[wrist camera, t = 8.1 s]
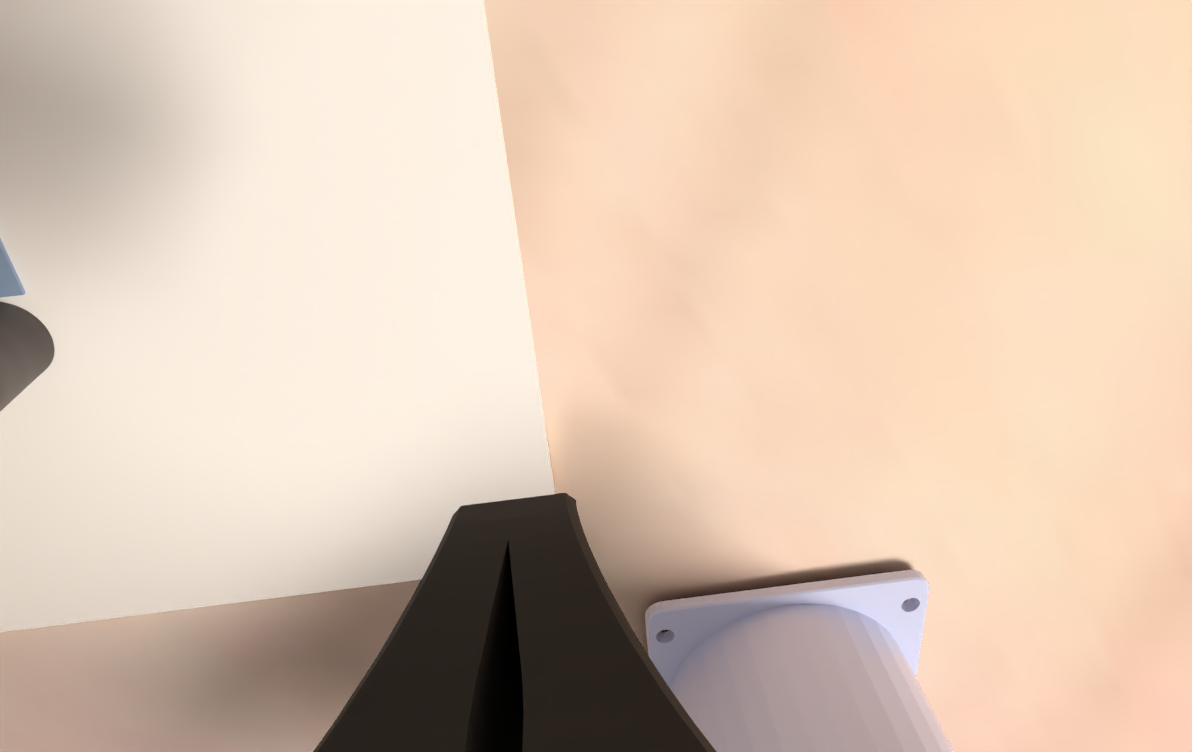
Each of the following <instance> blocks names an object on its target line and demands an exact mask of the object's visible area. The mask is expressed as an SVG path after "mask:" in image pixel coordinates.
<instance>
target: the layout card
mask: <svg viewBox="0 0 1192 752" xmlns="http://www.w3.org/2000/svg"><path fill="white" fill-rule="evenodd" d="M0 302H4V303H9V304H13V305H16V306H18V307H21V308H23V309H25V310H27V311H28V312H30V313H31V314H33V315H34V316H35V317H37V318H38V319H39V320H40V321H41V322H42V323H43V324H44V325H45V327H46V328H47V329H48V331H49V333H50V335H51V337H52V339H53V343H54V349H55V351H54V357H53V360H52V362H51V364H50V366H49V367H48V368H47V369H46V370H45V371H44V372H43V373H42V374H40V375H39V376H38V377H37V378H36V379H35V380H34V381H33V382H32V383H31V384H30V385H29V386H27V387H26V388H25V389H24V390H23V391H22V392H21V393H20V394H19V395H18V396H17V397H16V398H15V399H13V400H12V401H11V402H10V403H9V404H8V405H7V406H6V407H5V408H4V409H3V410H2V411H0V633H1V632H9V631H17V630H25V629H33V628H41V627H49V626H56V625H64V624H72V623H80V622H88V621H96V620H104V619H112V618H120V617H128V616H136V615H144V614H152V613H160V612H168V611H176V610H184V609H192V608H200V607H208V606H215V605H223V604H231V603H239V602H247V601H255V600H263V599H271V598H279V597H287V596H295V595H303V594H311V593H319V592H327V591H335V590H343V589H351V588H359V587H367V586H374V585H382V584H390V583H398V582H406V581H414V580H422V578H423V576H424V574H425V572H426V570H427V568H428V566H429V564H430V562H431V560H432V559H433V557H434V555H435V553H436V551H437V548H438V546H439V544H440V542H441V540H442V538H443V536H444V534H445V532H446V530H447V527H448V525H449V523H450V521H451V518H452V516H453V514H454V513H455V512H456V511H457V510H458V509H459V508H460V506H463V505H471V504H479V503H488V502H496V501H504V500H512V499H520V498H528V497H536V496H544V495H552V494H555V488H554V481H553V474H552V467H551V460H550V453H549V447H548V440H547V433H546V426H545V419H544V412H543V405H542V398H541V391H540V385H539V378H538V371H537V364H536V357H535V350H534V343H533V336H532V329H531V322H530V316H529V309H528V302H527V295H526V288H525V281H524V274H523V267H522V260H521V254H520V247H519V240H518V233H517V226H516V219H515V212H514V205H513V198H512V192H511V185H510V178H509V171H508V164H507V157H506V150H505V143H504V136H503V130H502V123H501V116H500V109H499V102H498V95H497V88H496V81H495V74H494V68H493V61H492V54H491V47H490V40H489V33H488V26H487V19H486V12H485V6H484V0H0Z"/></svg>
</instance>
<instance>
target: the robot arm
mask: <svg viewBox="0 0 1192 752" xmlns="http://www.w3.org/2000/svg"><path fill="white" fill-rule="evenodd" d="M928 593H929V583H928V582H927V580H926V579H925V577H924V575H923V574H922V573H921V572H919V571H917V570H903V571H895V572H887V573H879V574H871V575H864V576H856V577H848V578H840V579H832V580H824V581H817V582H809V583H801V584H793V585H785V586H777V587H769V588H762V589H754V590H746V591H738V592H730V593H722V594H715V595H707V596H699V597H691V598H683V599H675V600H667V601H661V602H657V603H654V604H653V605H651V606H650V607H649V608H648V609H647V610H646V612H645V625H646V637H647V648H648V654H647V653H646V651H645V650H644V648H643V647H642V645H641V643H640V642H639V640H638V638H637V637H636V635H635V633H634V632H633V630H632V628H631V627H630V625H629V623H628V621H627V620H626V618H625V616H624V614H623V612H622V611H621V609H620V607H619V605H618V603H617V602H616V600H615V598H614V596H613V595H612V593H611V591H610V589H609V587H608V585H607V583H606V581H605V579H604V577H603V575H602V573H601V571H600V569H599V567H598V565H597V563H596V561H595V558H594V556H593V554H592V552H591V549H590V547H589V545H588V542H587V540H586V537H585V534H584V532H583V529H582V526H581V523H580V519H579V516H578V512H577V507H576V500H575V499H573V498H572V497H570V496H569V495H568V494H566V493H560V494H552V495H544V496H536V497H528V498H520V499H512V500H504V501H496V502H488V503H479V504H471V505H463V506H460V508H459V509H458V510H457V511H456V512H455V513H454V514H453V516H452V518H451V521H450V523H449V525H448V527H447V530H446V532H445V534H444V536H443V538H442V540H441V542H440V544H439V546H438V548H437V551H436V553H435V555H434V557H433V559H432V560H431V562H430V564H429V566H428V568H427V570H426V572H425V574H424V576H423V578H422V580H421V581H420V583H419V585H418V587H417V589H416V591H415V593H414V595H413V596H412V598H411V600H410V602H409V603H408V605H407V607H406V608H405V610H404V612H403V614H402V615H401V617H400V619H399V621H398V622H397V624H396V626H395V628H394V629H393V631H392V633H391V634H390V636H389V638H388V640H387V641H386V643H385V645H384V646H383V648H382V650H381V651H380V653H379V655H378V656H377V658H376V659H375V661H374V662H373V664H372V666H371V667H370V669H369V670H368V672H367V673H366V675H365V676H364V678H363V679H362V681H361V682H360V684H359V685H358V687H357V688H356V690H355V692H354V693H353V695H352V696H351V698H350V699H349V701H348V702H347V704H346V705H345V707H344V708H343V710H342V711H341V713H340V714H339V716H338V718H337V719H336V720H335V722H334V723H333V725H332V726H331V728H330V729H329V731H328V732H327V733H326V735H325V736H324V738H323V739H322V740H321V742H320V743H319V745H318V746H317V747H316V749H315V750H314V752H955V751H954V749H953V747H952V745H951V743H950V741H949V739H948V737H947V735H946V734H945V732H944V730H943V728H942V726H941V724H940V722H939V720H938V718H937V717H936V715H935V713H934V711H933V709H932V707H931V705H930V703H929V701H928V699H927V698H926V696H925V694H924V692H923V690H922V688H921V686H920V684H919V682H918V681H917V679H916V676H917V669H918V662H919V655H920V648H921V641H922V634H923V627H924V620H925V614H926V607H927V600H928ZM910 598H911V599H910ZM907 599H910V600H908V601H905V600H907ZM904 601H905V602H904ZM662 630H669V631H667V632H664V633H662V632H660V631H662Z"/></svg>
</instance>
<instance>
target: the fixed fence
mask: <svg viewBox="0 0 1192 752" xmlns="http://www.w3.org/2000/svg"><path fill="white" fill-rule="evenodd" d="M54 351H55V349H54V343H53V339H52V337H51V335H50V333H49V331H48V329H47V328H46V327H45V325H44V324H43V323H42V322H41V321H40V320H39V319H38V318H37V317H35V316H34V315H33V314H31V313H30V312H28V311H27V310H25V309H23V308H21V307H18V306H16V305H13V304H9V303H4V302H0V411H2V410H3V409H4V408H5V407H6V406H7V405H8V404H9V403H10V402H11V401H12V400H13V399H15V398H16V397H17V396H18V395H19V394H20V393H21V392H22V391H23V390H24V389H25V388H26V387H27V386H29V385H30V384H31V383H32V382H33V381H34V380H35V379H36V378H37V377H38V376H39V375H40V374H42V373H43V372H44V371H45V370H46V369H47V368H48V367H49V366H50V364H51V362H52V360H53V357H54Z"/></svg>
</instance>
